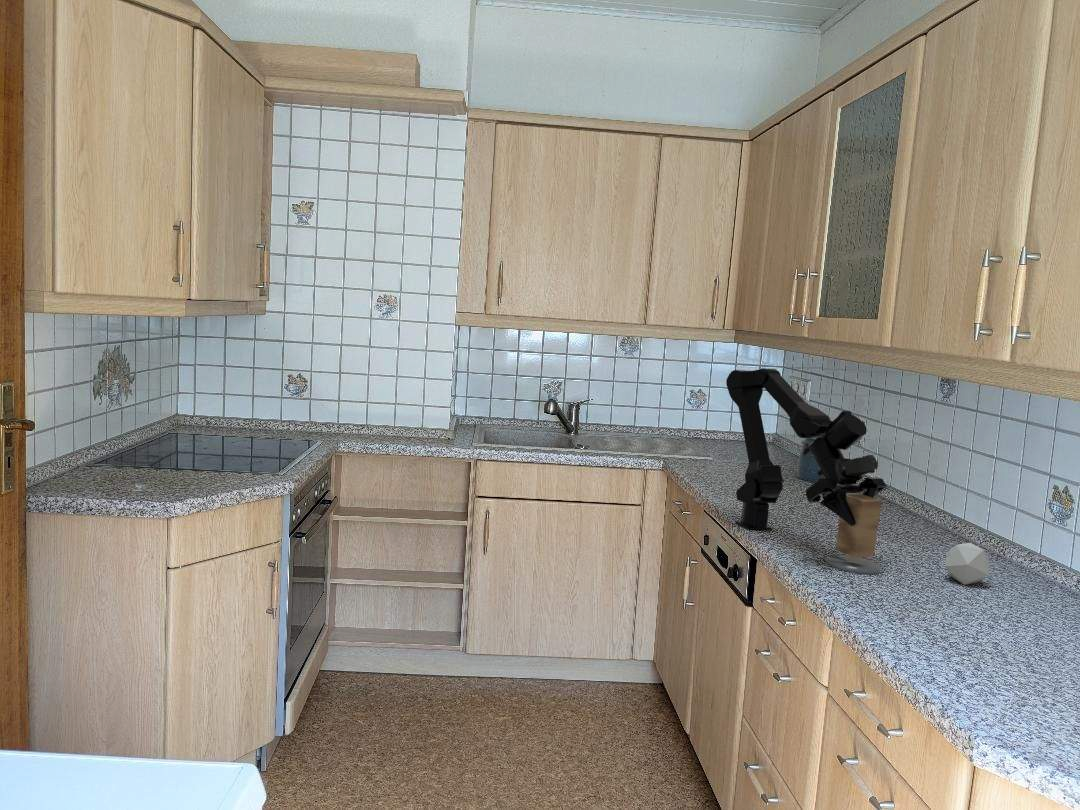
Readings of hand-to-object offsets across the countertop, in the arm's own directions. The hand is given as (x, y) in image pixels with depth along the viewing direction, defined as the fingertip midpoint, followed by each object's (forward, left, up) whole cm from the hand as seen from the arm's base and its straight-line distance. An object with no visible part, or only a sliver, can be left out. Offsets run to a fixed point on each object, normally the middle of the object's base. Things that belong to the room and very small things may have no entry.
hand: (863, 524), depth 183 cm
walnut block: (-1, 0, -7) cm, 7 cm away
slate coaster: (-1, 0, -9) cm, 10 cm away
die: (+10, +19, -10) cm, 24 cm away
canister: (-88, +56, -10) cm, 105 cm away
